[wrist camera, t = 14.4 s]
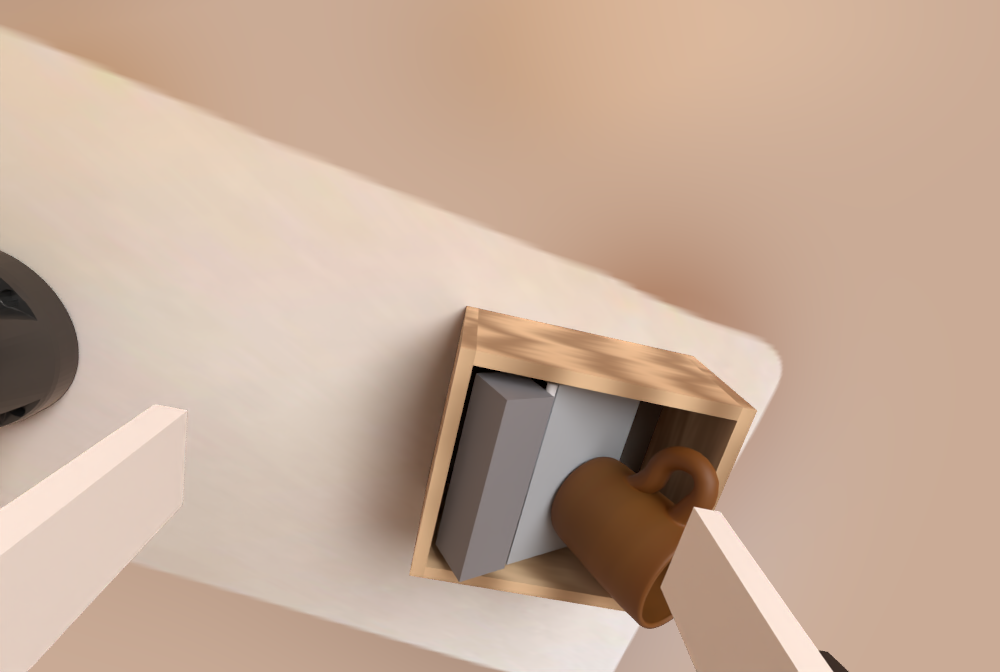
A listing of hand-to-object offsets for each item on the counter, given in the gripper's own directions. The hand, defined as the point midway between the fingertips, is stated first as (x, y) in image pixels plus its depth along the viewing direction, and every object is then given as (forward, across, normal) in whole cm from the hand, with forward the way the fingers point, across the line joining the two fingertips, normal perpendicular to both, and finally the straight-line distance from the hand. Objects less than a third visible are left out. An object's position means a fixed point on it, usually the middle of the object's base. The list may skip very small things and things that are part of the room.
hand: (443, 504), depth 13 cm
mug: (+23, +12, -11) cm, 28 cm away
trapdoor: (+23, +7, -11) cm, 27 cm away
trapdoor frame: (+29, +10, -11) cm, 32 cm away
